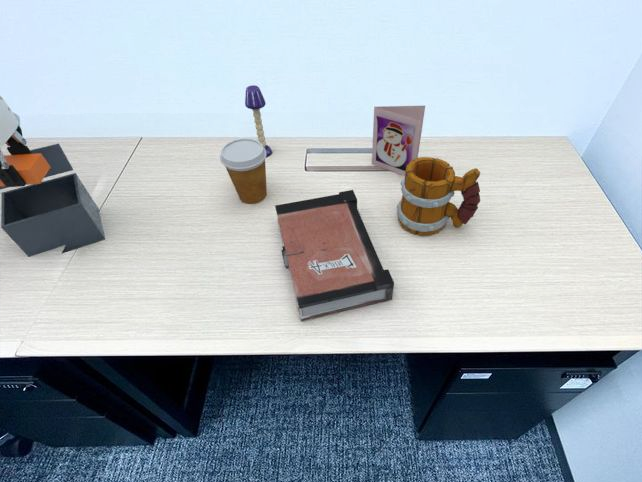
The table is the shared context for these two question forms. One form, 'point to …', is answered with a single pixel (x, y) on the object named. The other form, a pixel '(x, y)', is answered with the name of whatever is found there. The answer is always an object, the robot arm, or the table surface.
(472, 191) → the mug
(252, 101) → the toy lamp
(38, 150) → the flap
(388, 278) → the book
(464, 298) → the table surface
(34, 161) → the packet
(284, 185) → the table surface
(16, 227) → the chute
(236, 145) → the disposable coffee cup
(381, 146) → the greeting card
